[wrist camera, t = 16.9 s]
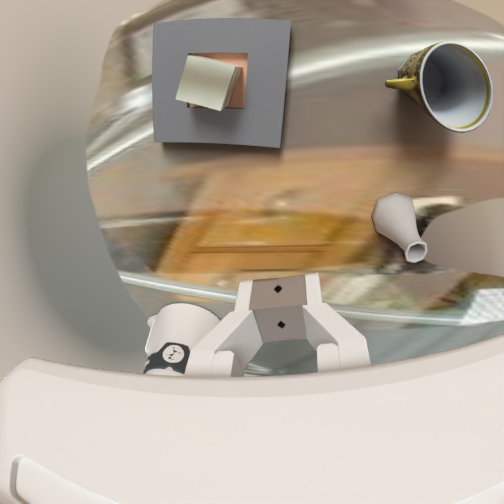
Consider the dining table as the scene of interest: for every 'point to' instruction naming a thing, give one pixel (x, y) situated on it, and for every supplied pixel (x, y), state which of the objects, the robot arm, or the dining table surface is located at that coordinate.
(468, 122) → the ceramic cup
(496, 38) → the dining table surface
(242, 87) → the pocket plate
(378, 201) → the flask
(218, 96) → the faceted block
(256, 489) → the robot arm
